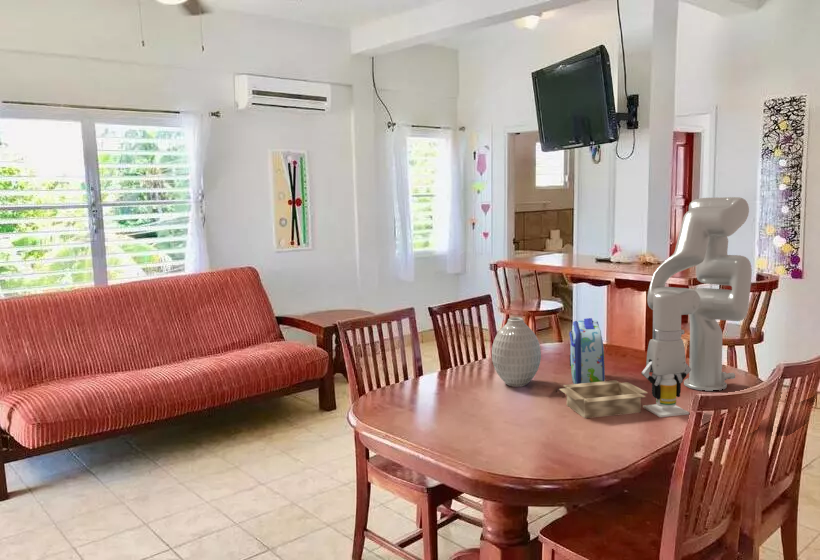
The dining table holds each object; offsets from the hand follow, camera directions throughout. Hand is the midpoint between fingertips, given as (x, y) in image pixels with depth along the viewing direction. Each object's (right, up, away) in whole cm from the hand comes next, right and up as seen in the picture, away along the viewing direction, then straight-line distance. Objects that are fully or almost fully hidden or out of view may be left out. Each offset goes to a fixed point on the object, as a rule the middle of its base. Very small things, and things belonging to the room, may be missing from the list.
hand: (666, 396), depth 193 cm
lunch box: (-15, -1, +30) cm, 34 cm away
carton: (-17, -5, +4) cm, 18 cm away
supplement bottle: (0, -3, 0) cm, 3 cm away
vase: (-38, -2, +33) cm, 50 cm away
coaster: (0, -4, 0) cm, 4 cm away
